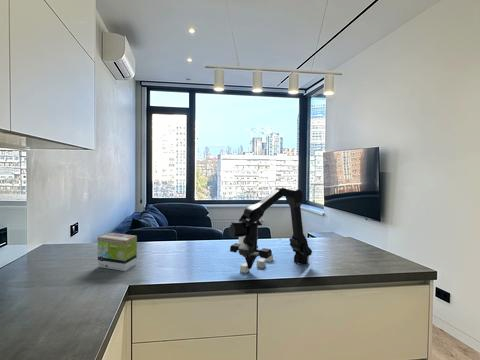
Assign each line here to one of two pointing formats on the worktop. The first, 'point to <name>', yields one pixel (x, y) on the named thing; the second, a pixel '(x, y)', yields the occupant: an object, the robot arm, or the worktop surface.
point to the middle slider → (261, 263)
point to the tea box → (117, 251)
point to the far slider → (269, 258)
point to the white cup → (241, 239)
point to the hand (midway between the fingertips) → (249, 268)
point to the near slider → (244, 268)
